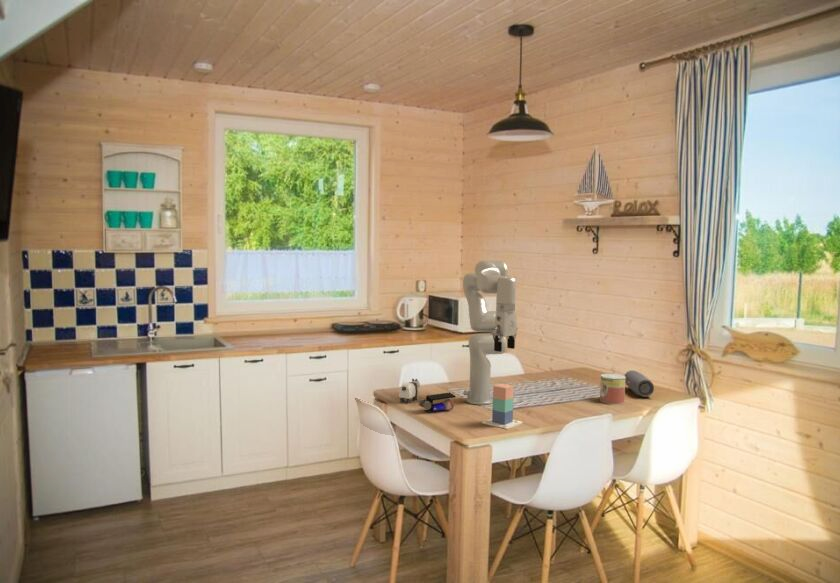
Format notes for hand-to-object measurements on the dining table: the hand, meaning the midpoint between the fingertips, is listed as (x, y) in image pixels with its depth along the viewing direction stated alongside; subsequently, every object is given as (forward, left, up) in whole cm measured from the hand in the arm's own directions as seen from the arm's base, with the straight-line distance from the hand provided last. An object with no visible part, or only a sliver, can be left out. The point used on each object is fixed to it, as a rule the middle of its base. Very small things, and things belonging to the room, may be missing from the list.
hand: (504, 349), depth 265 cm
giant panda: (-52, +3, -31) cm, 60 cm away
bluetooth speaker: (+21, +91, -31) cm, 98 cm away
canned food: (+18, +67, -31) cm, 76 cm away
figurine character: (-31, -3, -31) cm, 44 cm away
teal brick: (0, 0, -25) cm, 25 cm away
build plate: (0, 0, -30) cm, 30 cm away
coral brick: (0, 0, -20) cm, 20 cm away
